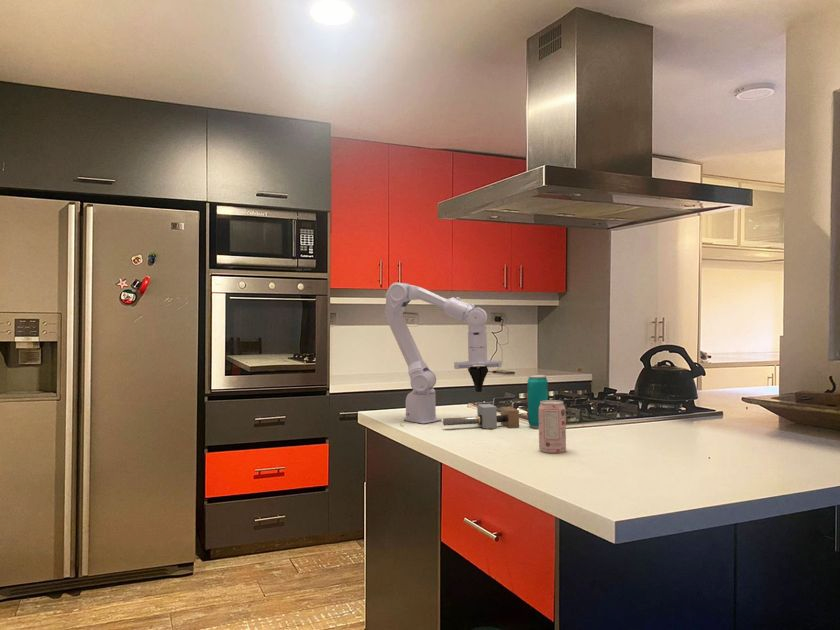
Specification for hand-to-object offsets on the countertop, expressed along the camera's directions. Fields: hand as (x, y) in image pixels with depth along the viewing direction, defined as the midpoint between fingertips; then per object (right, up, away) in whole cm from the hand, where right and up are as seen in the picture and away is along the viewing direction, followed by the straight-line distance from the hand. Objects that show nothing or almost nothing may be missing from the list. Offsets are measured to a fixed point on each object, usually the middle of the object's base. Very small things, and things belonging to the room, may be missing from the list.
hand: (478, 391), depth 196 cm
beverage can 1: (+17, -9, -9) cm, 21 cm away
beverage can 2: (+15, -10, -39) cm, 43 cm away
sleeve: (+2, -9, -8) cm, 12 cm away
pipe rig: (0, -10, -8) cm, 13 cm away
